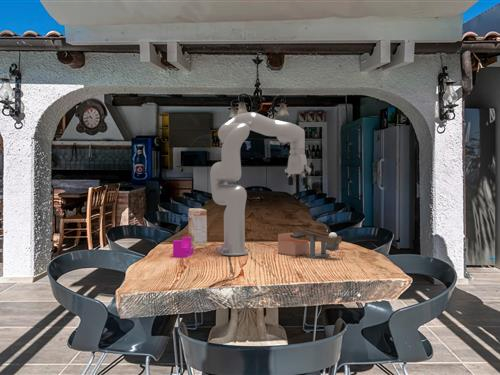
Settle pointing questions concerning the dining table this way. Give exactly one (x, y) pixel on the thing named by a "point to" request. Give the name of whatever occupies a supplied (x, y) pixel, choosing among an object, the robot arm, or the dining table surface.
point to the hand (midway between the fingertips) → (297, 185)
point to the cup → (292, 245)
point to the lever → (319, 238)
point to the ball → (332, 235)
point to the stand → (312, 250)
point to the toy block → (182, 248)
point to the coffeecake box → (198, 226)
